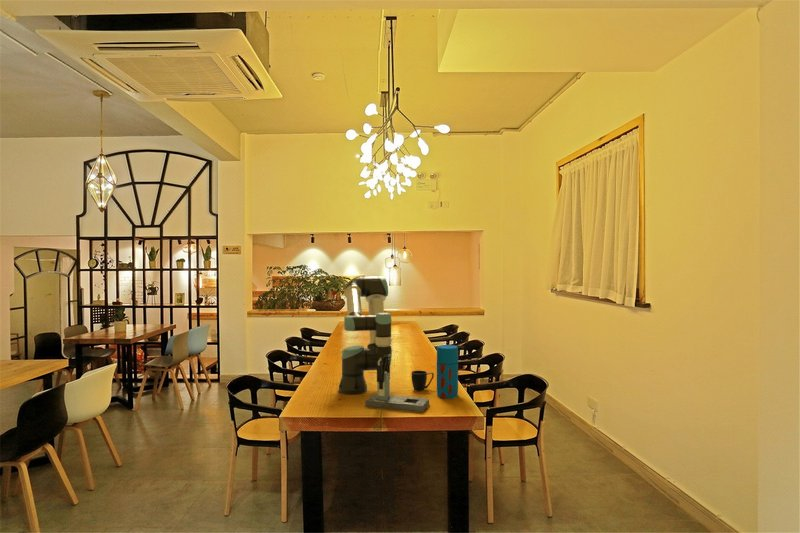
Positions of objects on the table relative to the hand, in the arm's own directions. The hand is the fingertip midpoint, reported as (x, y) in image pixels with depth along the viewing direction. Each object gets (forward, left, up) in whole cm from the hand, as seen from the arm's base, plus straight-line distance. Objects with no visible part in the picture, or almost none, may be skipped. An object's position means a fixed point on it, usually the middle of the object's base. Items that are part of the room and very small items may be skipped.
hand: (383, 394), depth 216 cm
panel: (+7, 0, -5) cm, 9 cm away
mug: (+11, +31, -5) cm, 33 cm away
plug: (0, 0, -4) cm, 4 cm away
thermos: (+26, +24, -5) cm, 36 cm away
